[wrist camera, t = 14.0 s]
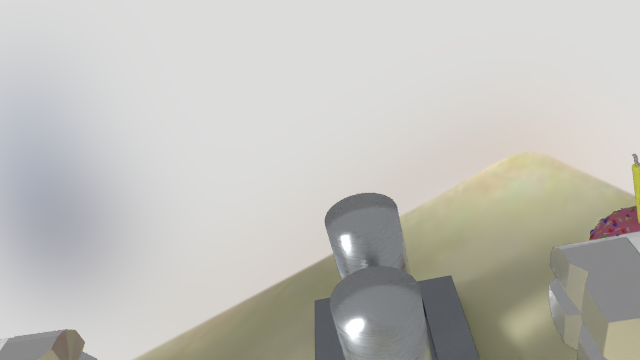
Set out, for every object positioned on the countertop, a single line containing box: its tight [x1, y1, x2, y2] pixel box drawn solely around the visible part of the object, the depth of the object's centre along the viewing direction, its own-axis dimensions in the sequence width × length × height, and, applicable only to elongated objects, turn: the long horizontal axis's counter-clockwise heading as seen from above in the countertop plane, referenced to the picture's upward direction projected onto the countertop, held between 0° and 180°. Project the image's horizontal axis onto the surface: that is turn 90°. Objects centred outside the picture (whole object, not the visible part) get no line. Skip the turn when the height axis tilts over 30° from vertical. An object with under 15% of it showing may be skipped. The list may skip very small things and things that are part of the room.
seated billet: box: [325, 193, 410, 280], centre depth 34 cm, size 4×4×12 cm
